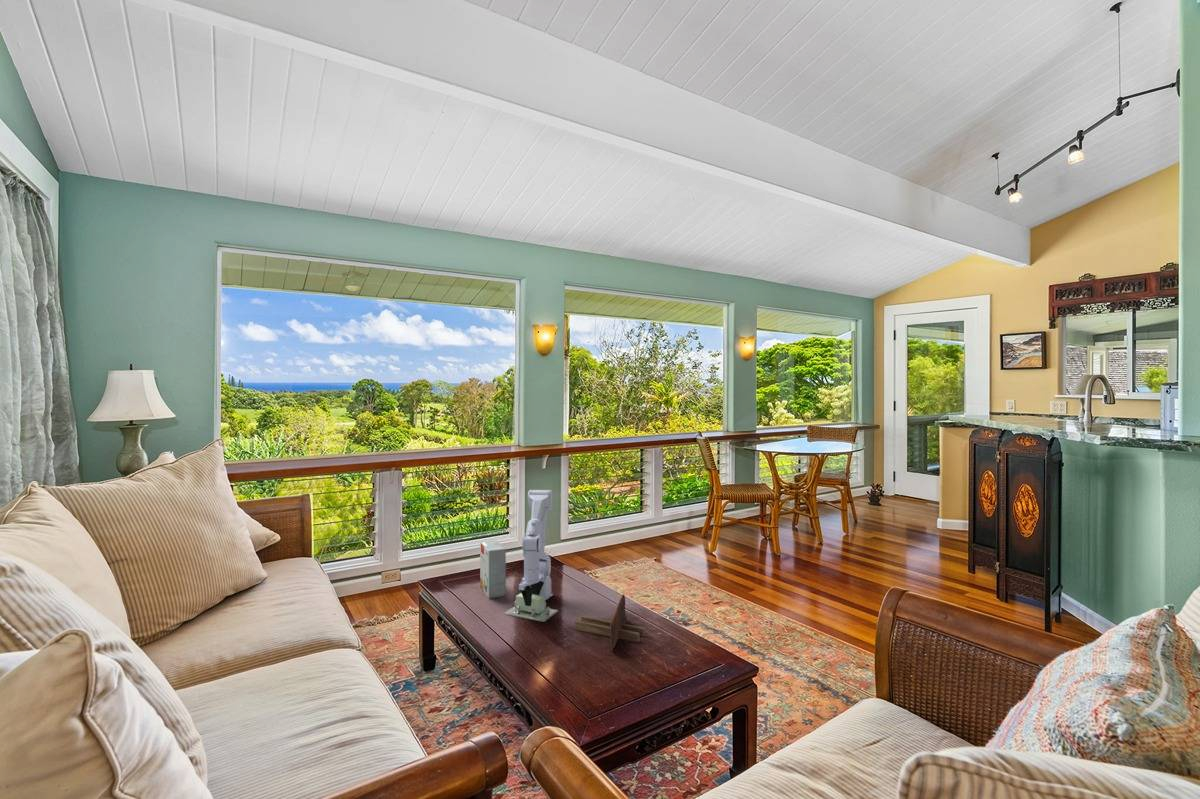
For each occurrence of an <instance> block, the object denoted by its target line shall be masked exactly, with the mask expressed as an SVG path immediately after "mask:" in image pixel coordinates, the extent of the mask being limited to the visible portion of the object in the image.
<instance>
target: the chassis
mask: <svg viewBox="0 0 1200 799" xmlns="http://www.w3.org/2000/svg"><path fill="white" fill-rule="evenodd" d="M513 604H514V606H513V607H511V608H510V609H508V610H506V611H505V615H508V616H511V617H512V616H513V617H517V618H521V619H522V618H523V619H526V620H532V621H537V622H543V623H544V622H546V621H547V620H549V619H550V618H551V617H553V616H555V615H556V614H557V613H558V612H559V610H558V609H553V608H550V606H547V602H546V601H545V609H544V610H543V611H541V612H540V613H535V609H531V612H528V611H523V610H520V606H517V609H516V600H514V602H513Z"/></svg>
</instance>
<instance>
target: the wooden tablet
mask: <svg viewBox="0 0 1200 799" xmlns="http://www.w3.org/2000/svg"><path fill="white" fill-rule="evenodd" d="M627 619H628V617H627V613H626V596H625V594H624V593H623V594H622V596H621V597H620V599H619V601H618V603H617V605H616V609H615V611H614V613H613V616H612V619H611V621H612V622H611V625H610V638H609V639H610V650H611V651H613V649H614V648H615V646H616V644H617V643H618V640H619V630H620V629H622V624H627V623H626V622H627Z"/></svg>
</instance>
